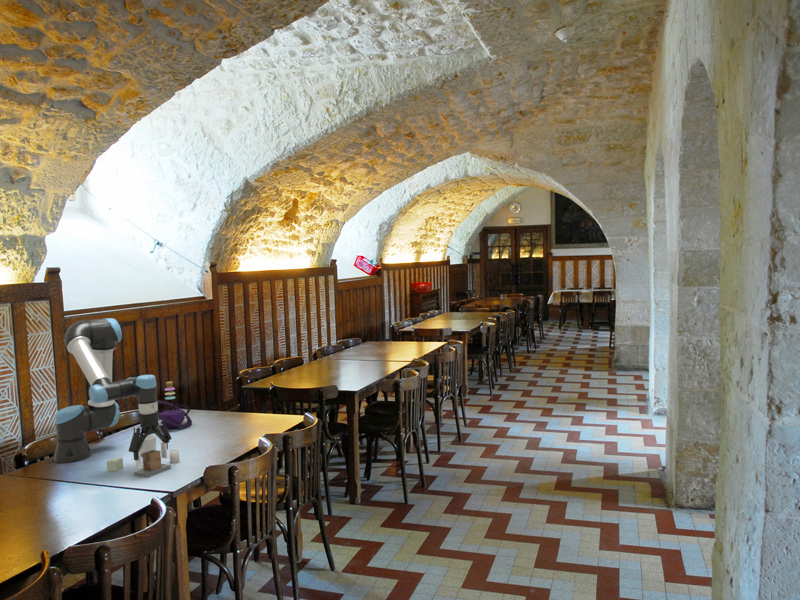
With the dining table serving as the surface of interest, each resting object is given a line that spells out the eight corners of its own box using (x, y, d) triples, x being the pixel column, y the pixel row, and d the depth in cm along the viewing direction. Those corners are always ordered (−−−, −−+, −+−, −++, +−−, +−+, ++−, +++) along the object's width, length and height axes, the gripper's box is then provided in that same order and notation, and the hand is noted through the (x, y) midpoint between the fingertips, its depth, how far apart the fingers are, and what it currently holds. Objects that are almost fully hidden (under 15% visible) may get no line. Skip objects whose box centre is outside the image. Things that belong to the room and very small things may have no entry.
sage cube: (107, 471, 263) (106, 461, 263) (113, 468, 268) (112, 458, 268) (117, 471, 263) (116, 461, 262) (123, 468, 267) (122, 458, 267)
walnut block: (143, 469, 259) (142, 453, 258) (153, 465, 263) (152, 449, 263) (151, 471, 256) (150, 454, 256) (161, 467, 261) (160, 451, 260)
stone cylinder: (167, 463, 271) (167, 451, 271) (175, 460, 275) (174, 449, 274) (174, 464, 269) (173, 452, 269) (181, 461, 273) (180, 450, 273)
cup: (146, 458, 279) (145, 441, 279) (131, 458, 281) (130, 441, 280) (160, 451, 290) (159, 434, 289) (145, 451, 291) (144, 434, 291)
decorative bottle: (184, 432, 321) (181, 385, 319) (144, 434, 321) (140, 387, 320) (198, 421, 343) (195, 377, 342) (161, 423, 344) (158, 378, 342)
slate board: (134, 475, 257) (133, 471, 257) (157, 466, 267) (157, 462, 267) (147, 477, 253) (147, 474, 253) (170, 468, 263) (170, 465, 263)
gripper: (129, 420, 246) (133, 472, 247) (177, 406, 267) (181, 454, 269) (116, 418, 249) (120, 470, 251) (165, 405, 271) (169, 452, 272)
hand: (152, 462), depth 260 cm, fingers open, 12 cm apart
